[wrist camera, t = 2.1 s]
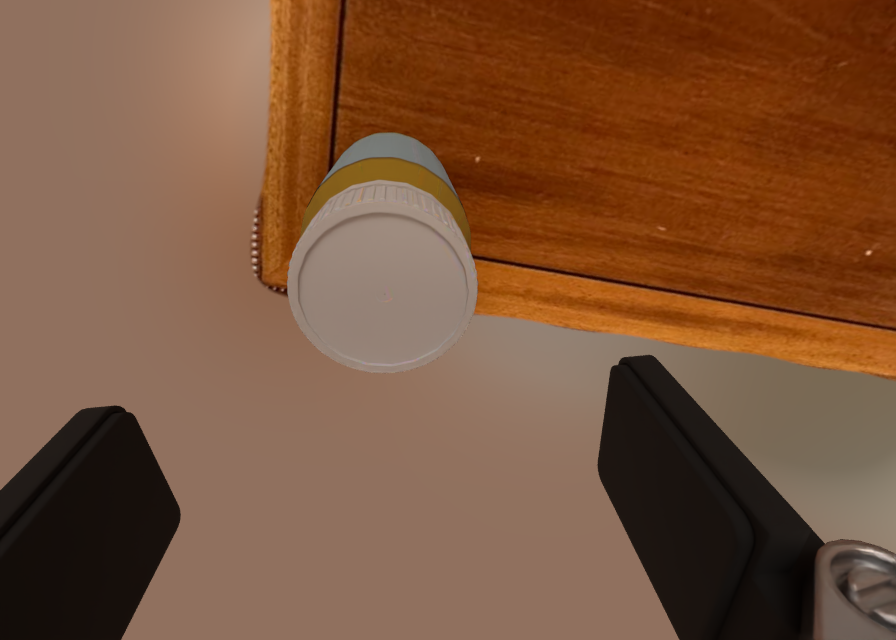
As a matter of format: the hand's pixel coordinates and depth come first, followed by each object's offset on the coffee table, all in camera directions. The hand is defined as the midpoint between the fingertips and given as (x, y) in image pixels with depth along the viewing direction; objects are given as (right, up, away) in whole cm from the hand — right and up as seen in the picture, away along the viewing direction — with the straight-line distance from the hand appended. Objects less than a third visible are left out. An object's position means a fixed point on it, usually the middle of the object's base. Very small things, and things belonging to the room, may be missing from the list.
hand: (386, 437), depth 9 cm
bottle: (-2, +10, +19) cm, 22 cm away
